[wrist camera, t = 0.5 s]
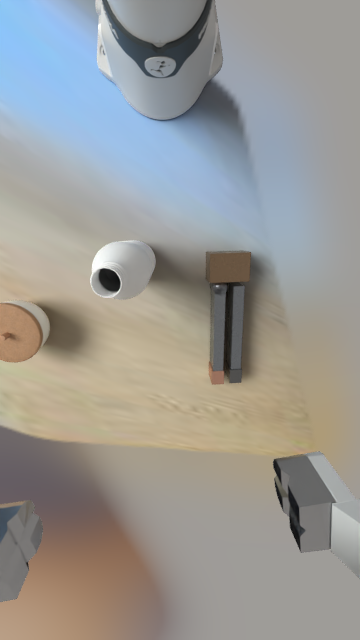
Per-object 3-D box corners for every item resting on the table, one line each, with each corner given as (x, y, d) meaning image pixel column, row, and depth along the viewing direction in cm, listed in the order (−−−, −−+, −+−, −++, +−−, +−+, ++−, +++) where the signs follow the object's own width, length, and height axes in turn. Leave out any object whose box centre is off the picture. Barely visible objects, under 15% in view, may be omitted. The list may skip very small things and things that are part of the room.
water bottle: (154, 239, 47) (140, 241, 23) (157, 277, 49) (147, 316, 25) (115, 241, 46) (60, 245, 23) (120, 279, 49) (74, 320, 25)
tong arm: (209, 278, 49) (213, 281, 45) (223, 277, 49) (227, 281, 45) (208, 373, 56) (211, 384, 52) (220, 373, 56) (224, 383, 52)
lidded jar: (20, 351, 52) (-11, 374, 44) (-8, 303, 49) (-47, 318, 40) (68, 336, 52) (47, 356, 43) (43, 286, 48) (15, 298, 40)
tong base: (206, 251, 48) (210, 253, 43) (242, 250, 48) (250, 252, 43) (205, 373, 56) (209, 386, 51) (237, 372, 56) (243, 384, 51)
